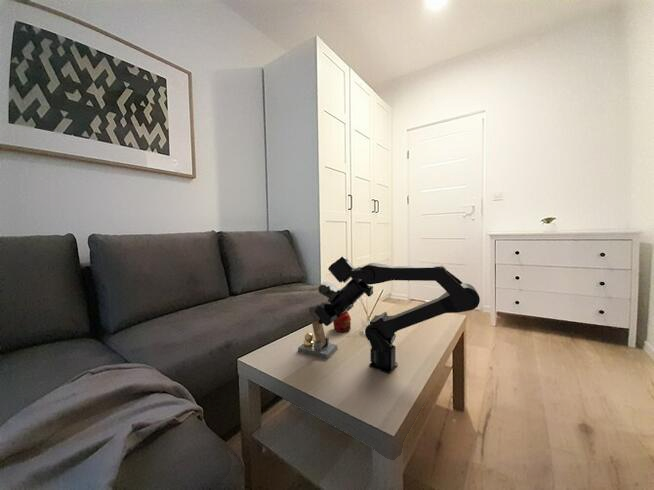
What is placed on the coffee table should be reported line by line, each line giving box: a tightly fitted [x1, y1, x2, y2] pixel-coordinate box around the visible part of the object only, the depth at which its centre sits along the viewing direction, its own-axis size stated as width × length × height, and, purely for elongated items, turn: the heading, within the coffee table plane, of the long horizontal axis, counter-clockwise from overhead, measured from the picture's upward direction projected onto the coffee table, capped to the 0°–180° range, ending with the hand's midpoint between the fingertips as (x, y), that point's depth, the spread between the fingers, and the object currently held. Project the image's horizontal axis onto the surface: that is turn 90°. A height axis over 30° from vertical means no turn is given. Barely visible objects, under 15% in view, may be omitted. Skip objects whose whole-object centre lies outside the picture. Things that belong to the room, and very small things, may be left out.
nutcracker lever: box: [308, 304, 326, 347], centre depth 84 cm, size 2×3×14 cm, turn 152°
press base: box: [297, 332, 338, 360], centre depth 85 cm, size 11×8×5 cm
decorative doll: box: [332, 311, 352, 333], centre depth 103 cm, size 8×7×15 cm
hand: (319, 322), depth 84 cm, fingers closed, pressing on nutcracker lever
